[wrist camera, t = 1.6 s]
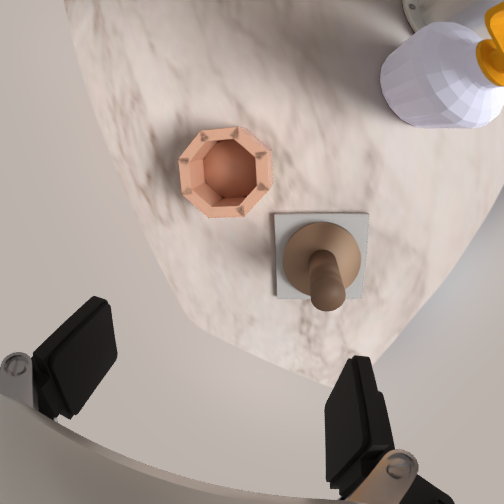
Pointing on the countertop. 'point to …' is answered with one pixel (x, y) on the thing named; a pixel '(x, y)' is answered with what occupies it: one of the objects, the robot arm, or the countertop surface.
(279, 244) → the mat
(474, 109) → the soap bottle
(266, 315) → the countertop surface
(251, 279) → the countertop surface
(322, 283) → the lid
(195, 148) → the octagonal peach pot
